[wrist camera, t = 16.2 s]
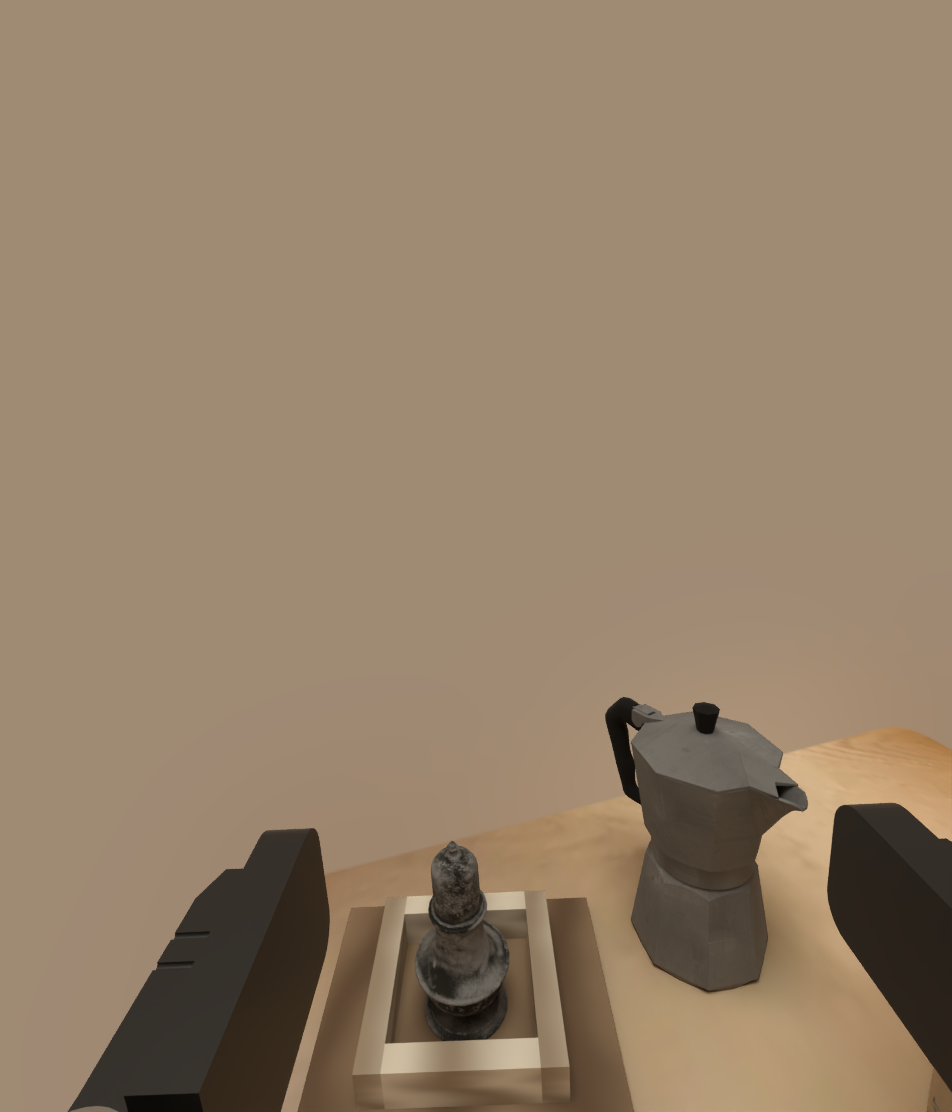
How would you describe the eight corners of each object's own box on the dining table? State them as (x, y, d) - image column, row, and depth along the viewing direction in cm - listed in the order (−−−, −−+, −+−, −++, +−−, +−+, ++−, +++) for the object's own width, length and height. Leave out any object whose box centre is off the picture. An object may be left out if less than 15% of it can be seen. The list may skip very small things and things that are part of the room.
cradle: (586, 908, 43) (585, 869, 43) (640, 1154, 29) (640, 1103, 28) (352, 918, 44) (347, 880, 43) (289, 1167, 29) (279, 1116, 28)
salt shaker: (507, 954, 39) (497, 803, 36) (517, 1047, 33) (507, 876, 30) (421, 962, 39) (405, 811, 36) (417, 1057, 33) (397, 886, 30)
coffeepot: (828, 967, 38) (853, 723, 34) (741, 1054, 33) (759, 782, 29) (647, 834, 51) (649, 646, 47) (566, 883, 46) (561, 678, 42)
